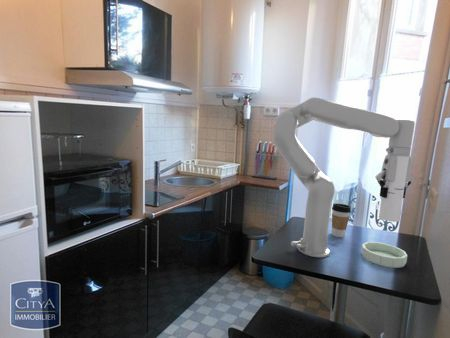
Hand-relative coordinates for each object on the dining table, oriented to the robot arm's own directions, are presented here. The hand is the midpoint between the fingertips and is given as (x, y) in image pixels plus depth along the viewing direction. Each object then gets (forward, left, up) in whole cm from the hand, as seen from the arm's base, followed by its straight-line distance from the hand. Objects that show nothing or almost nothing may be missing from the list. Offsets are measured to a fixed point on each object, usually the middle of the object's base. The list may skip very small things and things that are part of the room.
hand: (392, 196), depth 117 cm
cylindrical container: (0, 0, -9) cm, 9 cm away
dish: (0, 0, -25) cm, 25 cm away
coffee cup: (-4, +26, -26) cm, 37 cm away
